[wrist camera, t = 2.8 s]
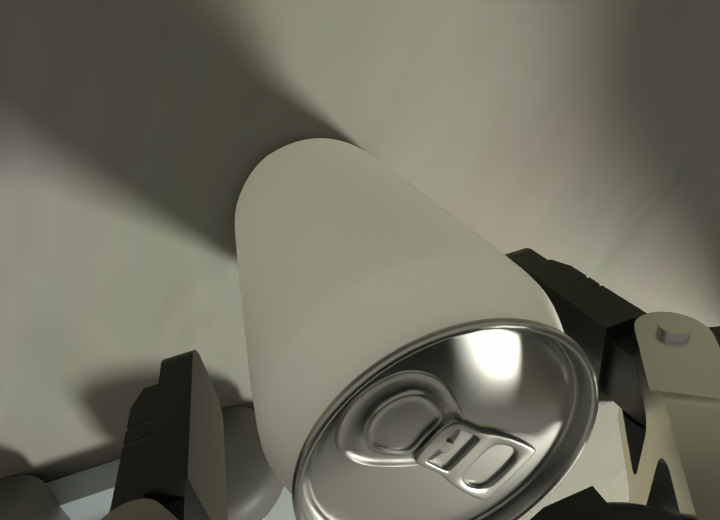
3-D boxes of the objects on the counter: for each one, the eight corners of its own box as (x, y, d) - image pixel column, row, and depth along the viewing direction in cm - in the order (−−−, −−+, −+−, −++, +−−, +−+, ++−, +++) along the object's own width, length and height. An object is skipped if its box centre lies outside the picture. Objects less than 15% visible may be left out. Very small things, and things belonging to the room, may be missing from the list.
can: (301, 97, 16) (469, 209, 5) (422, 198, 19) (675, 392, 8) (198, 238, 17) (174, 554, 7) (329, 311, 20) (452, 604, 10)
